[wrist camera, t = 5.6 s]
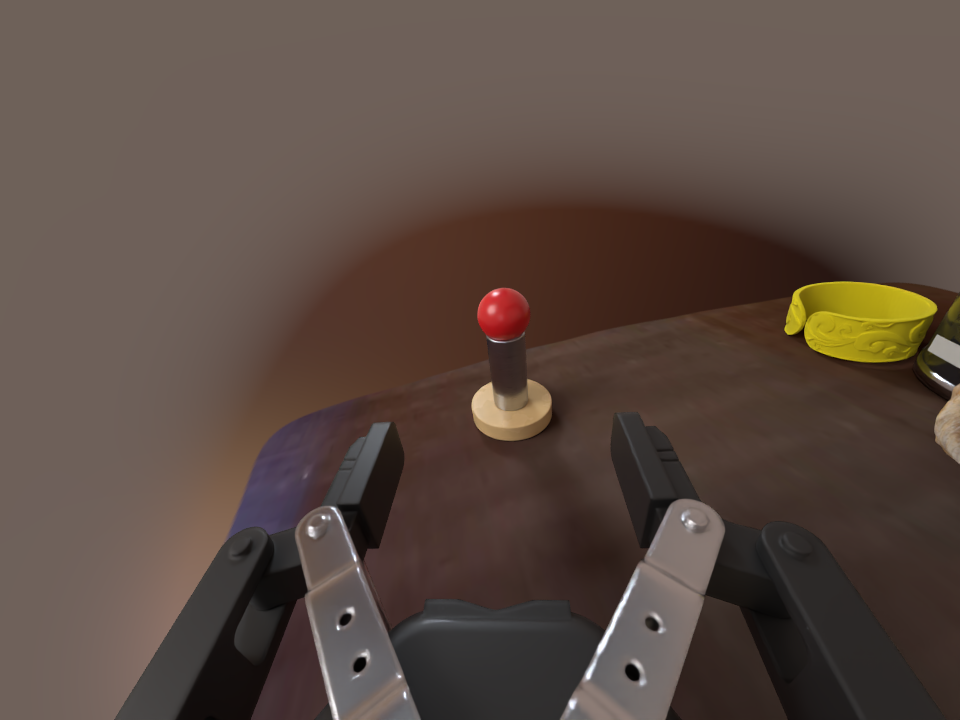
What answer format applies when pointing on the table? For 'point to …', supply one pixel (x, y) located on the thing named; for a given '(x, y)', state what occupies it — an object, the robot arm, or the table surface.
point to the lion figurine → (950, 426)
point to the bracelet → (860, 320)
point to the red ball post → (509, 372)
